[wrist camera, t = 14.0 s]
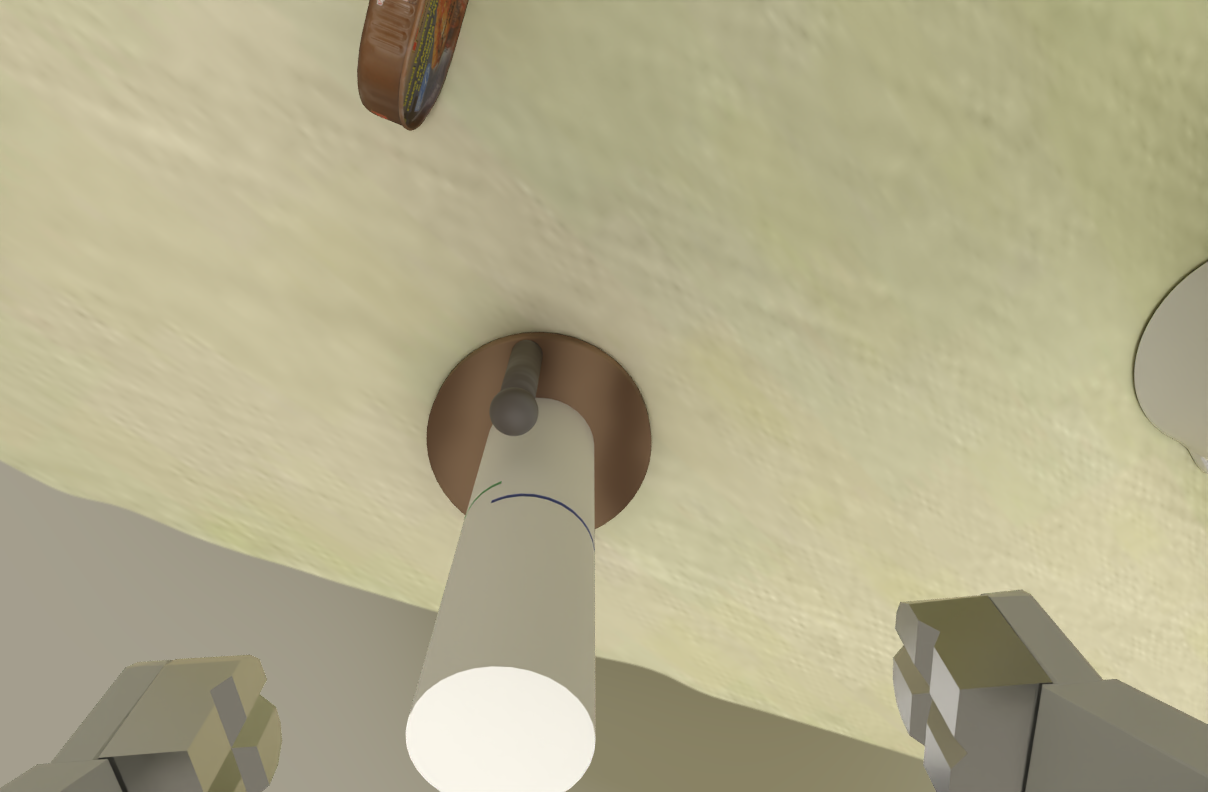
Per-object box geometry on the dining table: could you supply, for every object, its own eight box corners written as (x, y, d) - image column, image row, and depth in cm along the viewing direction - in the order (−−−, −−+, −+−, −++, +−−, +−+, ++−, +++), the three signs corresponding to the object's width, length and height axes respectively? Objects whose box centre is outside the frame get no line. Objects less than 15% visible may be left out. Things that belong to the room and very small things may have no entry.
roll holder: (641, 317, 51) (654, 385, 40) (657, 524, 57) (672, 632, 46) (411, 338, 52) (363, 411, 41) (451, 541, 57) (418, 653, 47)
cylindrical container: (604, 481, 54) (613, 791, 31) (503, 502, 55) (438, 823, 32) (580, 387, 51) (570, 649, 28) (474, 410, 52) (379, 686, 29)
